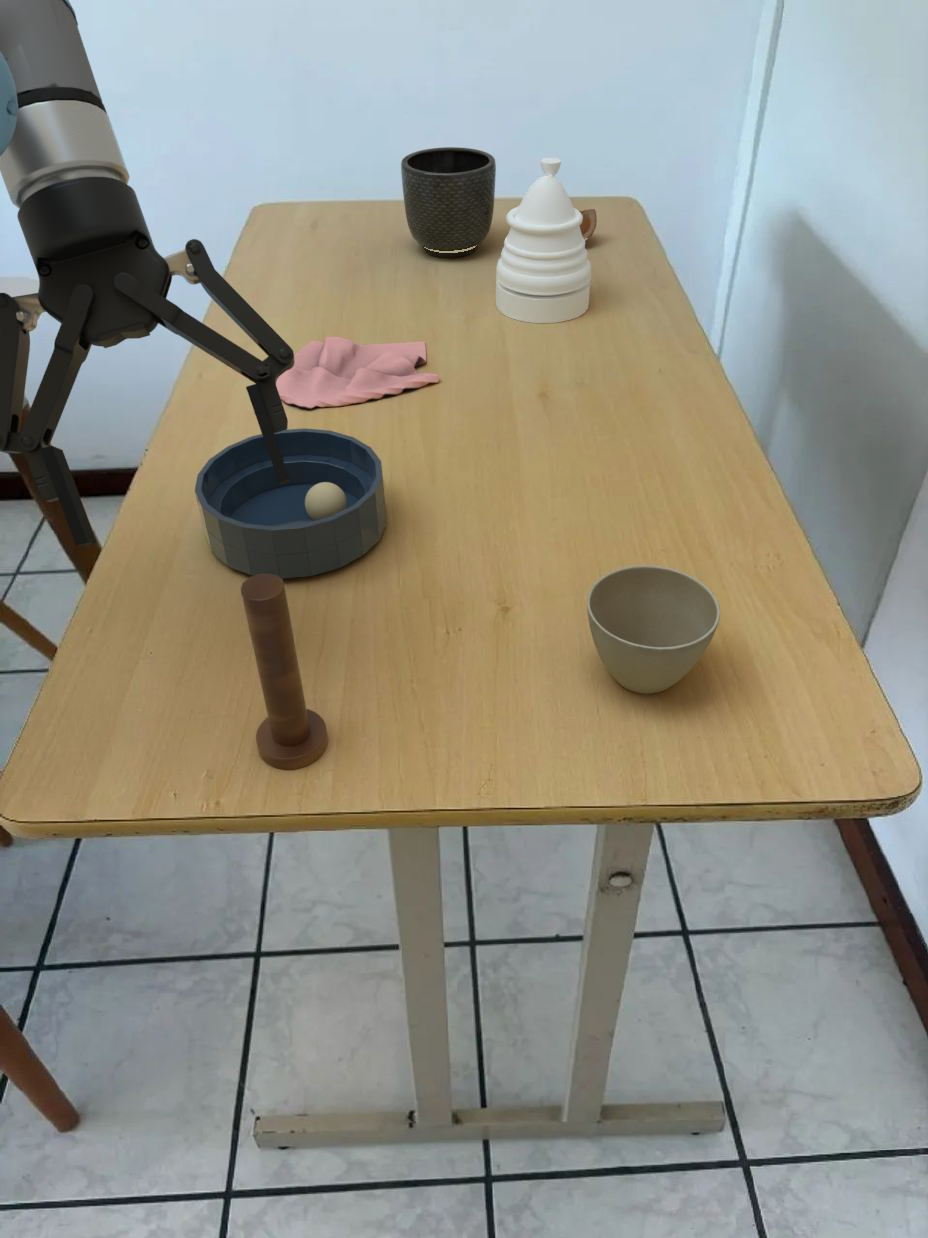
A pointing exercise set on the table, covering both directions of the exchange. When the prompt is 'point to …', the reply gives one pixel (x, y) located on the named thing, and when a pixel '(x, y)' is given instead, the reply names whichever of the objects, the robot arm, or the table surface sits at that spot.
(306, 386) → the cloth
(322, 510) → the dough ball
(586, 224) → the fruit slice
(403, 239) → the table surface
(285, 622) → the wooden peg stand
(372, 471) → the bowl
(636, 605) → the flower pot
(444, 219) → the planter
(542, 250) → the honey pot
